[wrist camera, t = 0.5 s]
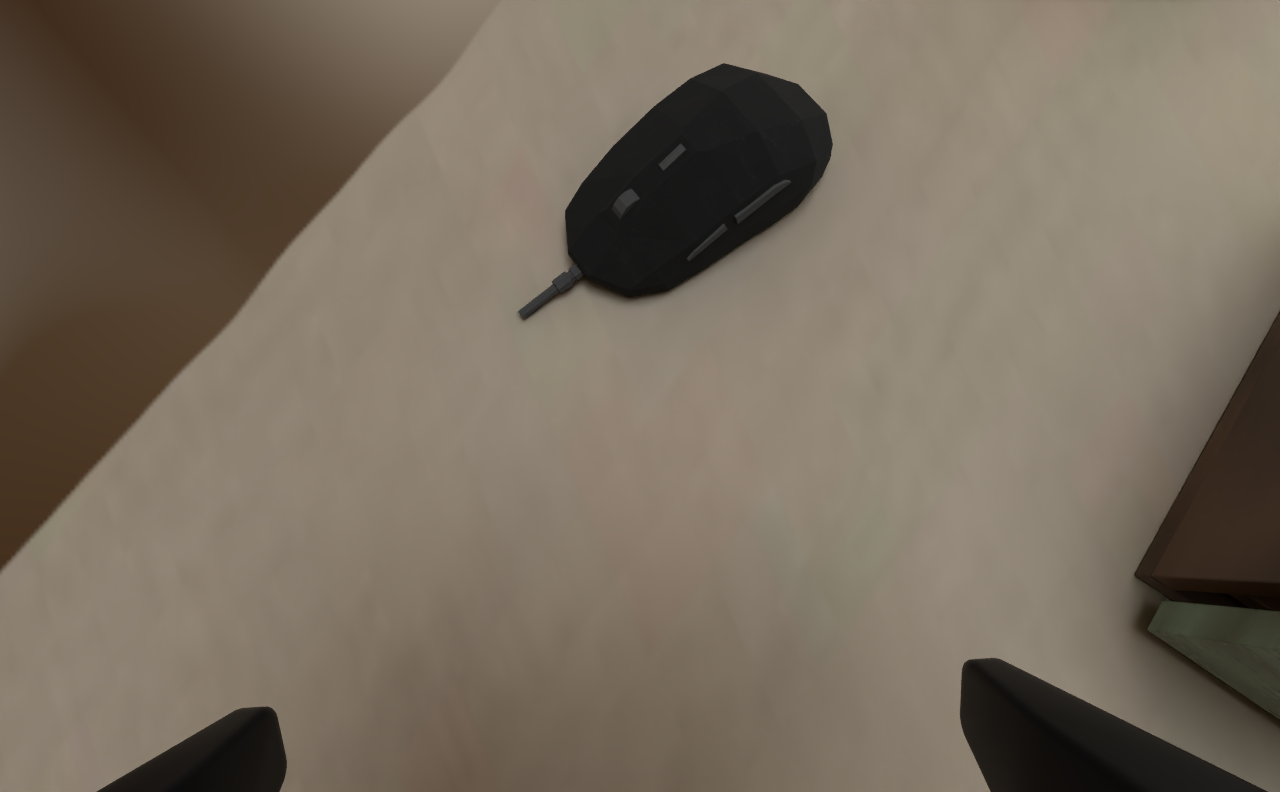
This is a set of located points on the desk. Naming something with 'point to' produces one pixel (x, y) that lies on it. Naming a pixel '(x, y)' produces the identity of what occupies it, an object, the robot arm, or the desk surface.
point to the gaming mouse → (694, 182)
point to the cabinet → (1229, 502)
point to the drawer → (1229, 643)
